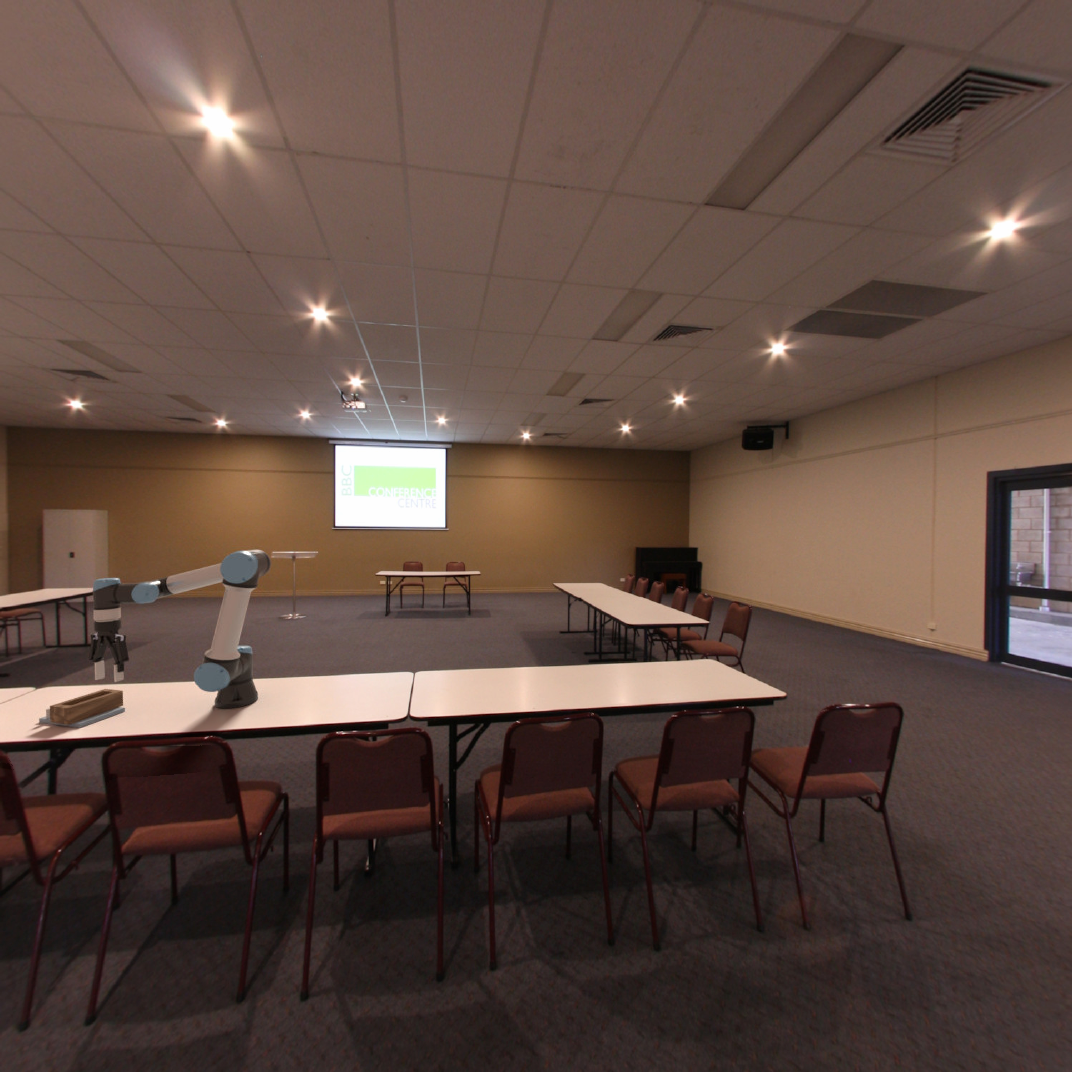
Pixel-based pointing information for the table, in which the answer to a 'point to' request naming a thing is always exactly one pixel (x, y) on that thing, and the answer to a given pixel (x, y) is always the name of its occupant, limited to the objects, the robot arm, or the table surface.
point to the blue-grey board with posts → (85, 721)
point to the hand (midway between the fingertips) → (109, 679)
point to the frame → (86, 706)
